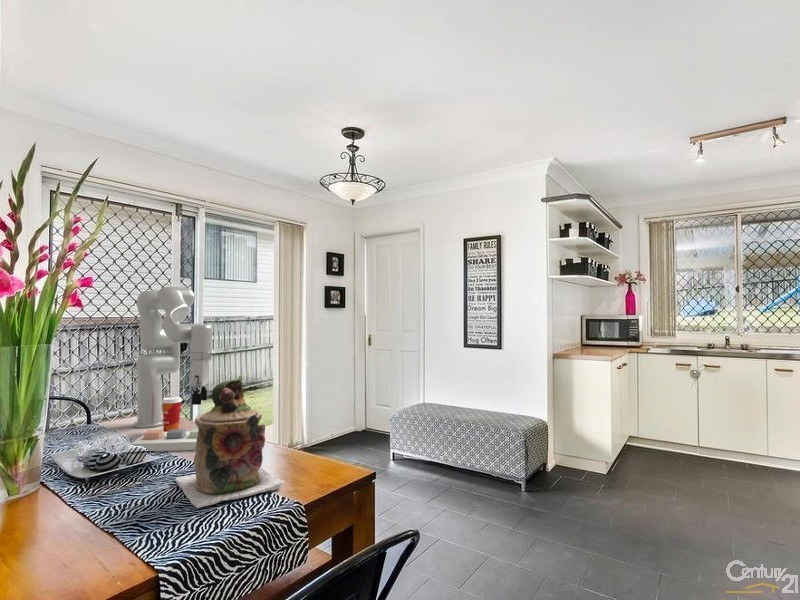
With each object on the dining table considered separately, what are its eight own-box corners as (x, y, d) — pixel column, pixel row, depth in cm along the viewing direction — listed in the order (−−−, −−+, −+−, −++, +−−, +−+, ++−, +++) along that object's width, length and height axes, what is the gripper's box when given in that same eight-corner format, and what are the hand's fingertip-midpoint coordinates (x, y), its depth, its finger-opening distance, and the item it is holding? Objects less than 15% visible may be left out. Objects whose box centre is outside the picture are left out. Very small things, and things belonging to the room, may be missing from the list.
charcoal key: (171, 435, 173) (171, 429, 173) (185, 435, 174) (185, 428, 174) (166, 439, 168) (166, 432, 168) (181, 438, 169) (181, 432, 169)
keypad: (147, 439, 177) (147, 432, 177) (216, 437, 181) (217, 430, 181) (130, 452, 161) (130, 443, 161) (206, 449, 165) (207, 441, 165)
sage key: (193, 434, 174) (193, 428, 175) (207, 434, 175) (207, 428, 175) (189, 438, 169) (189, 432, 169) (204, 438, 170) (204, 431, 170)
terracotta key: (148, 436, 172) (149, 429, 172) (163, 435, 173) (163, 429, 173) (143, 440, 167) (143, 433, 167) (158, 439, 167) (158, 433, 168)
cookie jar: (172, 483, 133) (175, 375, 134) (253, 466, 149) (255, 369, 150) (197, 512, 114) (200, 386, 115) (286, 489, 130) (289, 378, 131)
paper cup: (161, 430, 191) (162, 397, 192) (181, 428, 194) (182, 396, 195) (160, 434, 184) (161, 400, 184) (180, 433, 187) (181, 399, 188)
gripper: (196, 354, 181) (195, 398, 181) (183, 358, 164) (182, 407, 164) (216, 354, 183) (215, 397, 182) (205, 358, 165) (204, 406, 165)
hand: (199, 402), depth 173 cm, fingers open, 7 cm apart
